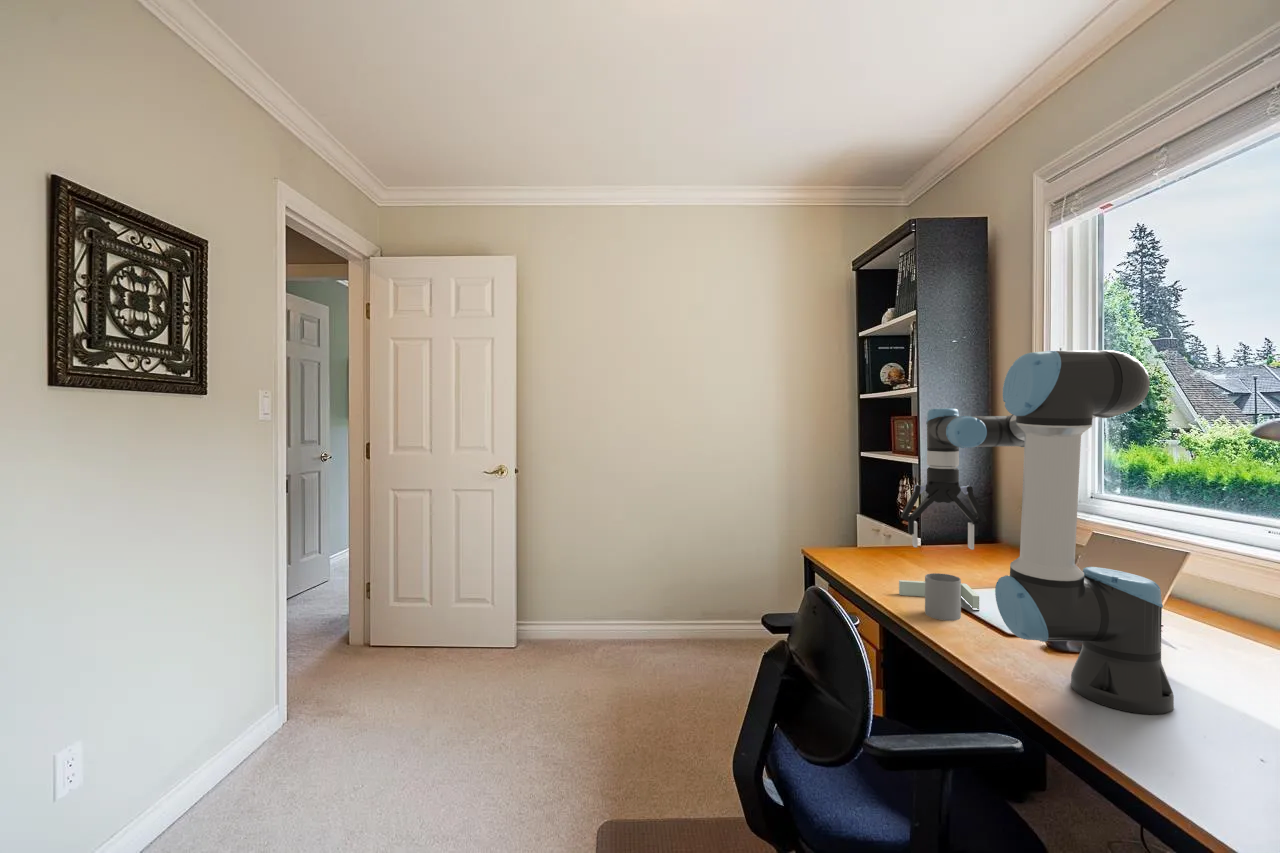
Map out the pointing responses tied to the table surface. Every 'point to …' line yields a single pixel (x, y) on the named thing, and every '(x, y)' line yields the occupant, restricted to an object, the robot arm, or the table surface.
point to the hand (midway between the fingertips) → (942, 547)
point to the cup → (943, 596)
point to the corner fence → (919, 590)
